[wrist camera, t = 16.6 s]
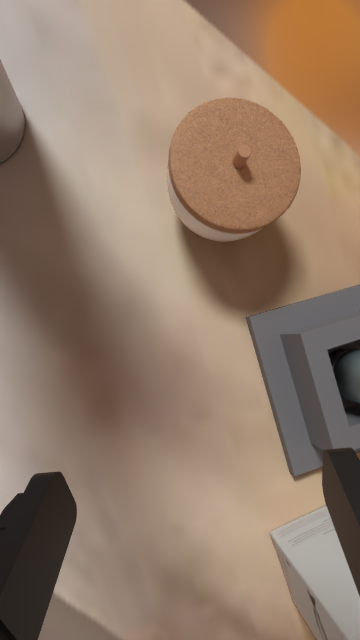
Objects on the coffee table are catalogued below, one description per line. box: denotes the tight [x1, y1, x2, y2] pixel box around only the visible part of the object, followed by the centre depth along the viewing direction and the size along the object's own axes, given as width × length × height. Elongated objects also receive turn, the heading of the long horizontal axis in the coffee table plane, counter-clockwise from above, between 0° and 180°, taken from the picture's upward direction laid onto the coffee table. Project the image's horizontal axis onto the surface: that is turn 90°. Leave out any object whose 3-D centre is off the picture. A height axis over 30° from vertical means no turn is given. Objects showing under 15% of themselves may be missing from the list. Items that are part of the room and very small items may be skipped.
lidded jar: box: [167, 98, 301, 242], centre depth 30 cm, size 11×11×9 cm
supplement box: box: [270, 505, 360, 640], centre depth 27 cm, size 7×7×13 cm
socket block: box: [246, 285, 360, 476], centre depth 33 cm, size 16×16×5 cm
